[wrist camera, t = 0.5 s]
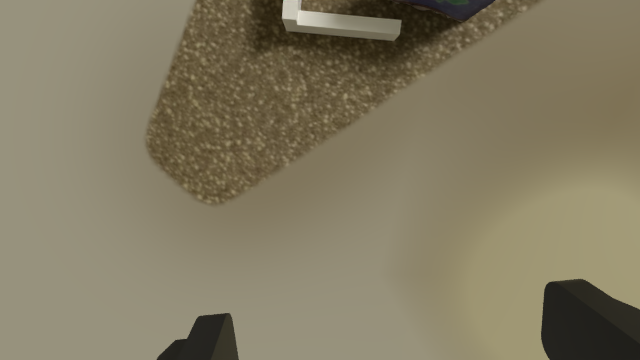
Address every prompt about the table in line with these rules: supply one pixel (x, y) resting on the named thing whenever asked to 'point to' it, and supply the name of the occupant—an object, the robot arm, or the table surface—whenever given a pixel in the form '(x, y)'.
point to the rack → (338, 23)
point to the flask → (450, 7)
